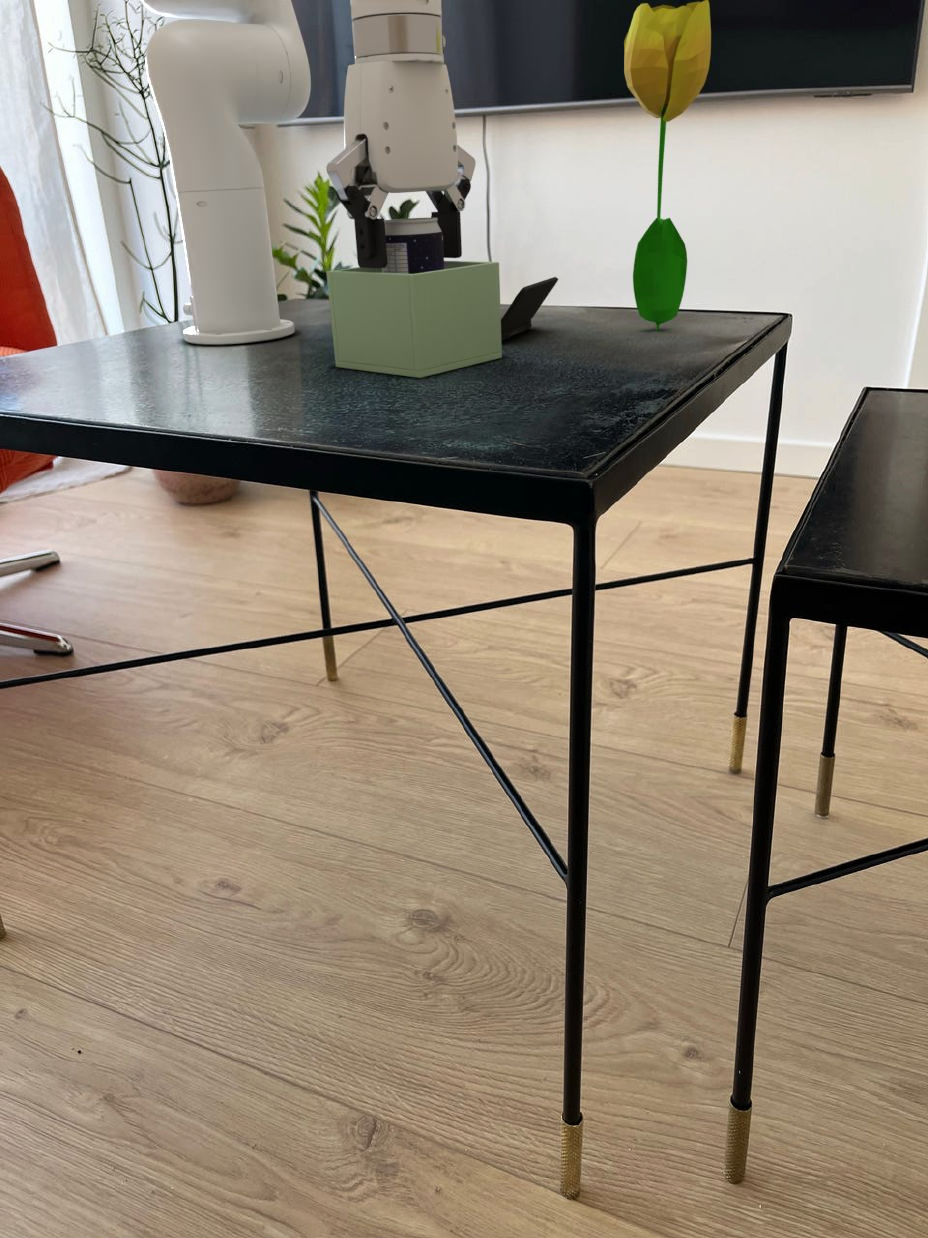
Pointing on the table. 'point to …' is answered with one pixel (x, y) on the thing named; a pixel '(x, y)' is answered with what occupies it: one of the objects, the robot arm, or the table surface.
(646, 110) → the flower
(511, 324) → the black tablet stand
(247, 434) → the table surface
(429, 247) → the beverage can
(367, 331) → the pale green square box
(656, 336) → the table surface
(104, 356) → the table surface
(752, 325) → the table surface
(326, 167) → the robot arm
